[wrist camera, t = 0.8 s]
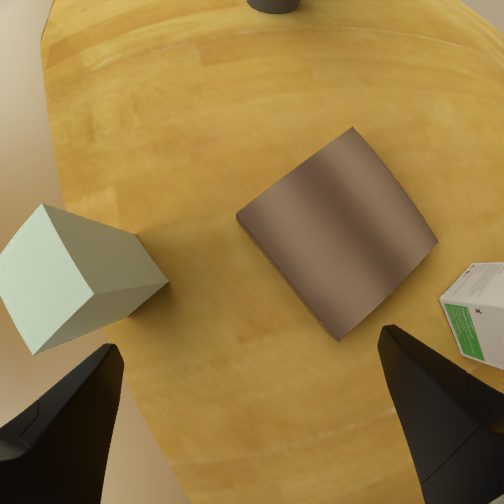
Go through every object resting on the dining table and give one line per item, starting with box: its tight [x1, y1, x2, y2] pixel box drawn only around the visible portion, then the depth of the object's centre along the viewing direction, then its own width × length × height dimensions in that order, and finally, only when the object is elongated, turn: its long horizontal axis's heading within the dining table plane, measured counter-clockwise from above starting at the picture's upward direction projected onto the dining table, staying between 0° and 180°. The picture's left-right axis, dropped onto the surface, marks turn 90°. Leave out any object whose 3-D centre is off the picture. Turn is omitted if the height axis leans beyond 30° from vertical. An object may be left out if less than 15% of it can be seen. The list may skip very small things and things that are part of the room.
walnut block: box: [236, 127, 438, 341], centre depth 23 cm, size 12×12×3 cm
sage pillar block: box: [0, 203, 169, 355], centre depth 17 cm, size 5×5×13 cm
